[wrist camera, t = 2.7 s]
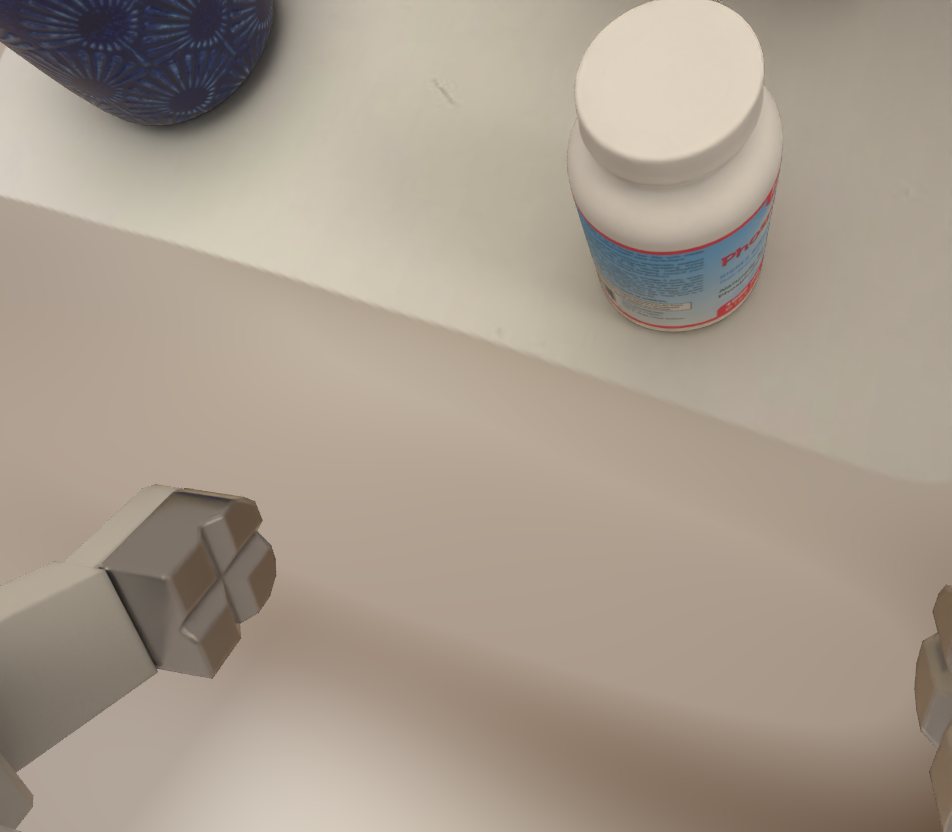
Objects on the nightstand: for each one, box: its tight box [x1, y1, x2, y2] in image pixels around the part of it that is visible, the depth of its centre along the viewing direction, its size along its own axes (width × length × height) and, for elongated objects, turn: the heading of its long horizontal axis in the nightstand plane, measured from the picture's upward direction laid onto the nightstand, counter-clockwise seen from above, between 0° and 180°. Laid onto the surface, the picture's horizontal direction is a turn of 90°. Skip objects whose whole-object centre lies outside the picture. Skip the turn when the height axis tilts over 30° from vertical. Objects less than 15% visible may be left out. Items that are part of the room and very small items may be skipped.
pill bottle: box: [567, 0, 783, 331], centre depth 23 cm, size 6×6×11 cm
